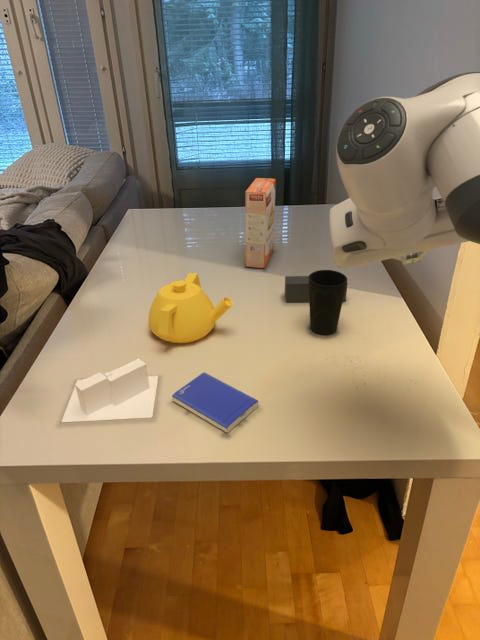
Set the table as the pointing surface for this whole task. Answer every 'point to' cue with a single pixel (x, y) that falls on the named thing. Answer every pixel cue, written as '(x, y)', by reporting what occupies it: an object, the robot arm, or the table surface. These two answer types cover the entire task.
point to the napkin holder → (114, 395)
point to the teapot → (184, 311)
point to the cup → (325, 300)
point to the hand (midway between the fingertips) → (413, 258)
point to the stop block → (299, 289)
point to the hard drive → (215, 401)
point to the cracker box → (259, 222)
